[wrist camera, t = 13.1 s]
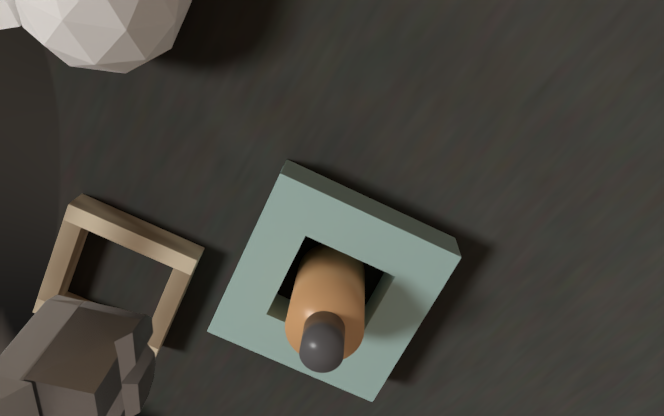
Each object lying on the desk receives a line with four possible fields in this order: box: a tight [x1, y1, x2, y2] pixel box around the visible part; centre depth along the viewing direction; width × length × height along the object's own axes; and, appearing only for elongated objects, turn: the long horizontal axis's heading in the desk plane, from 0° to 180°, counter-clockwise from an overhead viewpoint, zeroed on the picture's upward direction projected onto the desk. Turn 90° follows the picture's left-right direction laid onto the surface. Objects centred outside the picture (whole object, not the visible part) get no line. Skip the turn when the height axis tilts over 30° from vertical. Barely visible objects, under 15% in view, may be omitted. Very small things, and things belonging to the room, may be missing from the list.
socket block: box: [207, 159, 462, 402], centre depth 40 cm, size 12×12×3 cm
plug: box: [285, 244, 365, 373], centre depth 37 cm, size 5×5×10 cm
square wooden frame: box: [33, 194, 204, 358], centre depth 42 cm, size 9×9×2 cm
